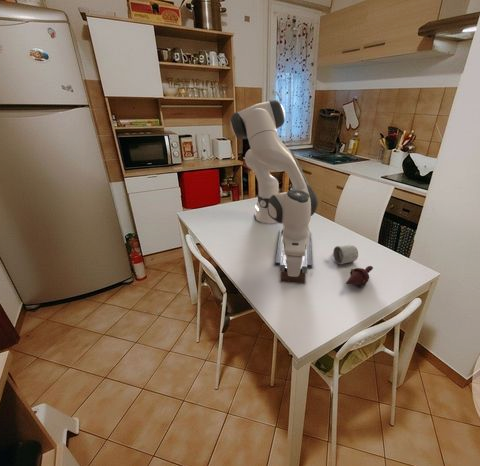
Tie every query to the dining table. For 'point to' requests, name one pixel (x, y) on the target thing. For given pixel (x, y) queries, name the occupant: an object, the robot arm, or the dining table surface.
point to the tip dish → (284, 264)
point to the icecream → (359, 276)
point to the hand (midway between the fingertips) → (293, 270)
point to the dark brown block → (292, 278)
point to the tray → (279, 251)
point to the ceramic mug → (345, 254)
